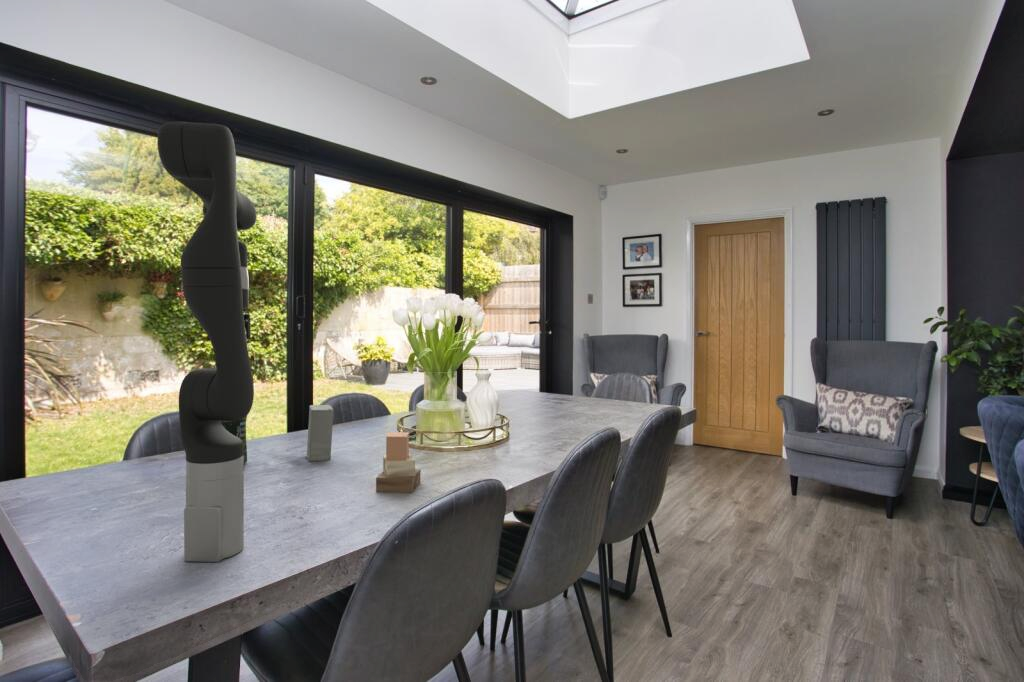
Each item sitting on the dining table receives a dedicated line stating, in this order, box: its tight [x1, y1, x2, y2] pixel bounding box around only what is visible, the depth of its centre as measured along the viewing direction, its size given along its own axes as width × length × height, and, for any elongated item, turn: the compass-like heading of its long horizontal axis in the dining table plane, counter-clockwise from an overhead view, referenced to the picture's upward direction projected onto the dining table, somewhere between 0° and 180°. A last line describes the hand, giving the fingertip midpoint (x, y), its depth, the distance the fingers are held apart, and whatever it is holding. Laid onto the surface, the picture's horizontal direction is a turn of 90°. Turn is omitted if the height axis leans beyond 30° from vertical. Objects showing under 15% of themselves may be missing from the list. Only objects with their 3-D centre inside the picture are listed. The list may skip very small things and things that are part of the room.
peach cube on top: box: [385, 431, 410, 460], centre depth 140 cm, size 5×5×6 cm
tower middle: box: [382, 453, 416, 478], centre depth 141 cm, size 7×7×4 cm
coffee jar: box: [221, 415, 248, 465], centre depth 158 cm, size 10×8×19 cm
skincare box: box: [306, 404, 334, 462], centre depth 169 cm, size 8×7×16 cm
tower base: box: [375, 468, 422, 494], centre depth 141 cm, size 9×9×4 cm
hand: (230, 359), depth 124 cm, fingers open, 8 cm apart
